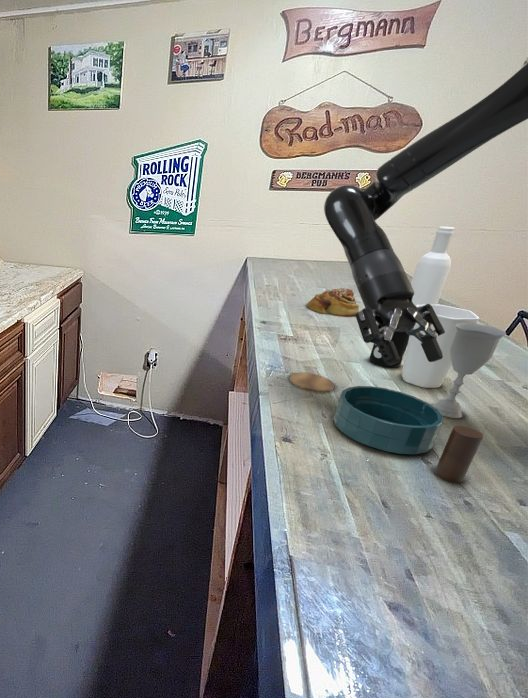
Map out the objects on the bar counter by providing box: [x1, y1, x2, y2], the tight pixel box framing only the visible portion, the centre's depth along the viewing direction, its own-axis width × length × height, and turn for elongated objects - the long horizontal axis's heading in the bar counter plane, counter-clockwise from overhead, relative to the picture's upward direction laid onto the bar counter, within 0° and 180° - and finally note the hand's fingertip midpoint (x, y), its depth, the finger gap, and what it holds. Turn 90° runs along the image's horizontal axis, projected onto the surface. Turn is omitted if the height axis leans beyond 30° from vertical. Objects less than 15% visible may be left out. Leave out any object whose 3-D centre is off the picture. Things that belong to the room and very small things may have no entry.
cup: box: [401, 303, 481, 389], centre depth 103 cm, size 11×10×17 cm
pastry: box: [306, 287, 360, 318], centre depth 155 cm, size 13×15×8 cm
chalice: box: [432, 323, 507, 419], centre depth 90 cm, size 7×7×18 cm
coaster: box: [289, 372, 335, 393], centre depth 105 cm, size 9×9×1 cm
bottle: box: [410, 225, 456, 306], centre depth 135 cm, size 8×8×30 cm
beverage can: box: [369, 331, 410, 369], centre depth 113 cm, size 7×7×12 cm
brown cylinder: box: [434, 425, 484, 484], centre depth 73 cm, size 4×4×8 cm
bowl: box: [332, 385, 444, 455], centre depth 85 cm, size 15×15×6 cm
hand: (415, 361), depth 79 cm, fingers open, 8 cm apart
